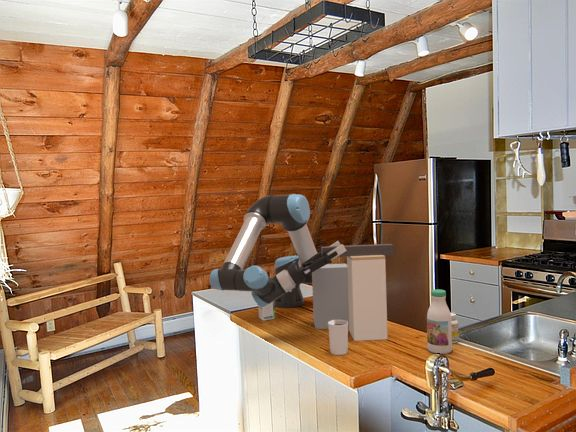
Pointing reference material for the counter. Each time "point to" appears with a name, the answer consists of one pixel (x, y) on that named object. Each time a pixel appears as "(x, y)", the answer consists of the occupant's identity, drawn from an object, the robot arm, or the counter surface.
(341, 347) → the white cup
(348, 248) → the handle rail
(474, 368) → the counter surface
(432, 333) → the milk bottle
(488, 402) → the counter surface
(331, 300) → the tall grey pillar block
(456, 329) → the supplement bottle
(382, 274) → the cabinet block
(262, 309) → the syrup box
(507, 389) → the counter surface
